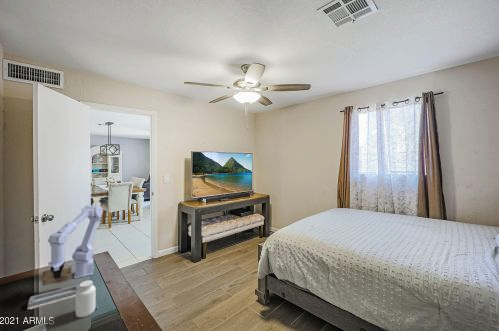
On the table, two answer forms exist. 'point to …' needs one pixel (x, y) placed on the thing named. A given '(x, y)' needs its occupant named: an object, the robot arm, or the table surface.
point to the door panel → (49, 278)
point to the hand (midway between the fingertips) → (57, 276)
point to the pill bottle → (85, 299)
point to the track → (52, 297)
